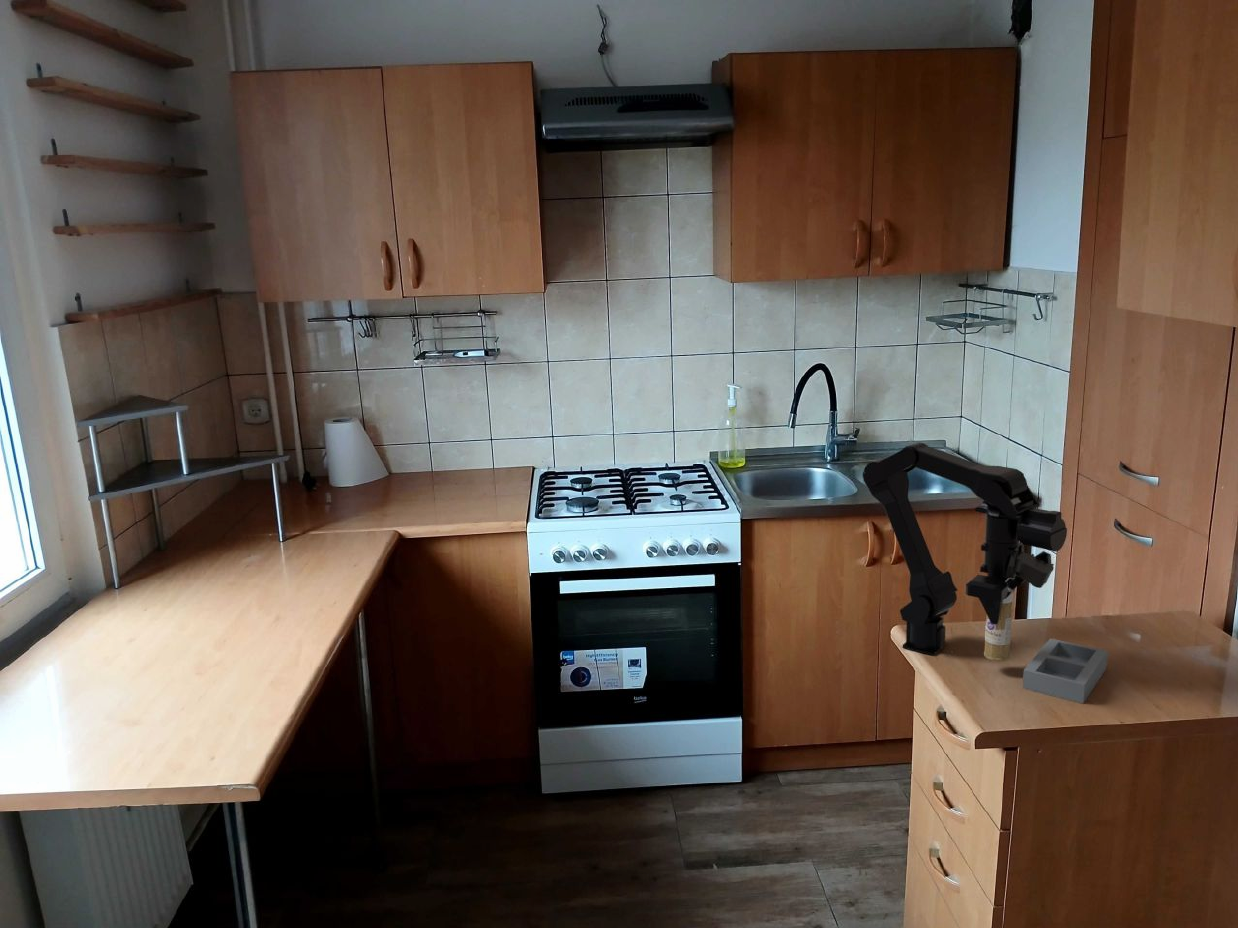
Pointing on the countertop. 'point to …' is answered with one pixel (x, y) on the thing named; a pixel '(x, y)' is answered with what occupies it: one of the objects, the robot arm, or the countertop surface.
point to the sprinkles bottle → (999, 633)
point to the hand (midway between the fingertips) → (998, 619)
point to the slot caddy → (1065, 670)
